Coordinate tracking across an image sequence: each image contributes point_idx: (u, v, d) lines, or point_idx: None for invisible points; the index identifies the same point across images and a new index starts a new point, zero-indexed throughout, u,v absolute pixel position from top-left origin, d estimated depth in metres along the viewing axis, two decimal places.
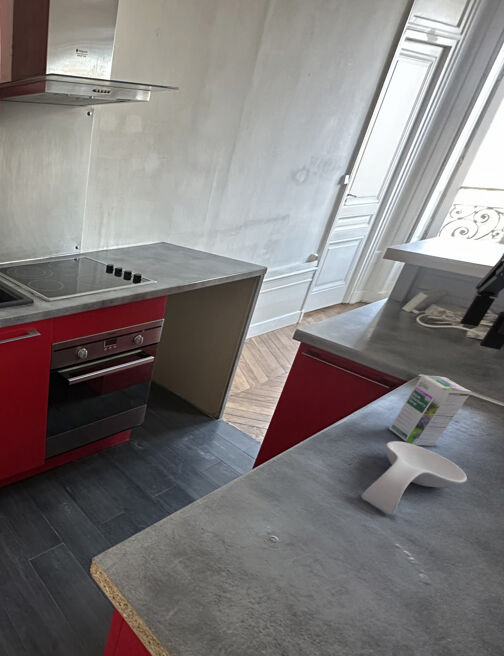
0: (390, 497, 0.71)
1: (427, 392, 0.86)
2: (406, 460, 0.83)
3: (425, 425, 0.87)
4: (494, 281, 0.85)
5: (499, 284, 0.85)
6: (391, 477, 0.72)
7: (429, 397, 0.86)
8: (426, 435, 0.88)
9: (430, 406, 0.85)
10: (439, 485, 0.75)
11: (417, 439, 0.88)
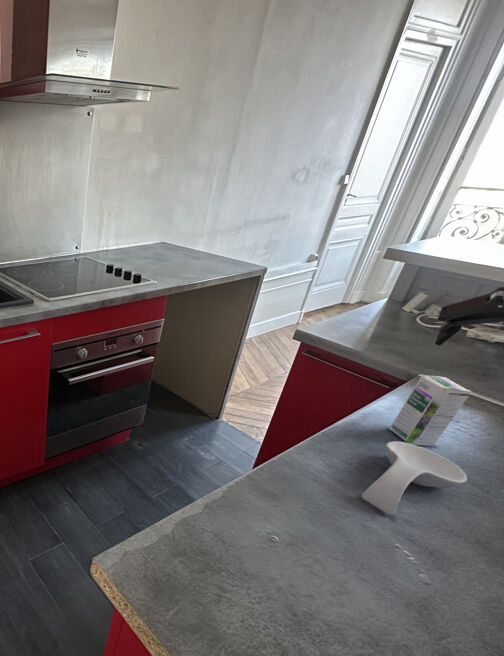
0: (390, 497, 0.71)
1: (427, 392, 0.86)
2: (406, 460, 0.83)
3: (425, 425, 0.87)
4: None
5: None
6: (391, 477, 0.72)
7: (429, 397, 0.86)
8: (426, 435, 0.88)
9: (430, 406, 0.85)
10: (439, 485, 0.75)
11: (417, 439, 0.88)
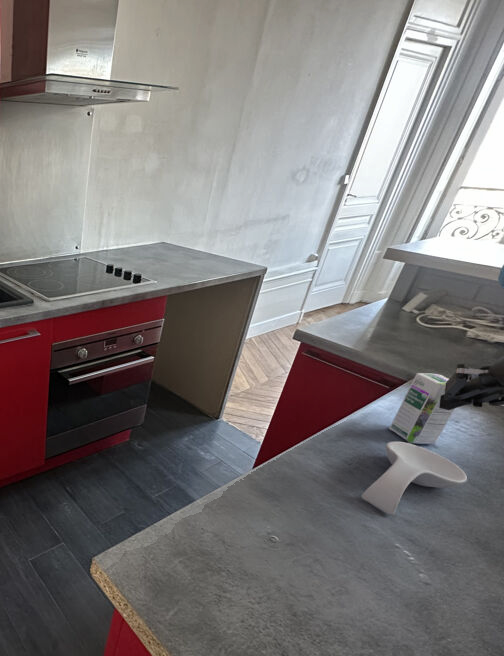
0: (390, 497, 0.71)
1: (424, 388, 0.87)
2: (406, 460, 0.83)
3: (424, 422, 0.87)
4: None
5: None
6: (391, 477, 0.72)
7: (425, 393, 0.86)
8: (426, 432, 0.88)
9: (427, 403, 0.86)
10: (439, 485, 0.75)
11: (418, 437, 0.88)
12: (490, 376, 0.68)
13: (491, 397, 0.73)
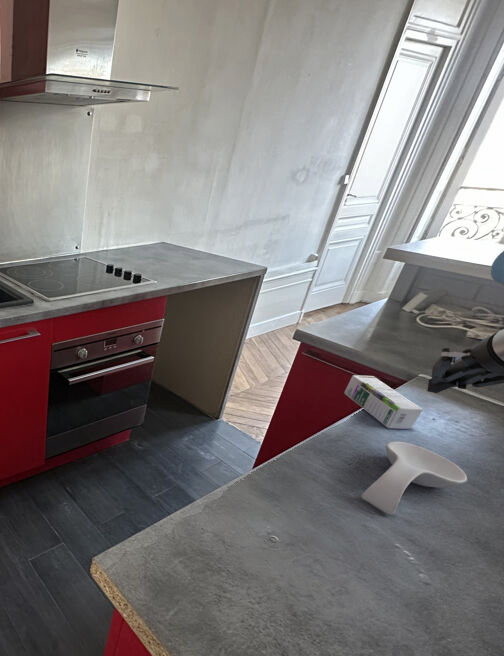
0: (390, 497, 0.71)
1: (354, 388, 1.04)
2: (406, 460, 0.83)
3: (382, 394, 0.97)
4: None
5: None
6: (391, 477, 0.72)
7: (357, 387, 1.03)
8: (397, 401, 0.94)
9: (364, 387, 1.01)
10: (439, 485, 0.75)
11: (397, 404, 0.93)
12: (472, 358, 0.74)
13: (474, 379, 0.79)
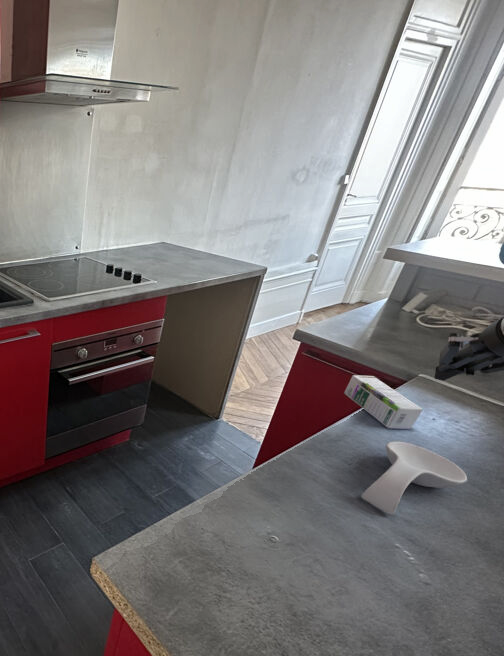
0: (390, 497, 0.71)
1: (354, 388, 1.04)
2: (406, 460, 0.83)
3: (382, 394, 0.97)
4: None
5: None
6: (391, 477, 0.72)
7: (357, 387, 1.03)
8: (397, 401, 0.94)
9: (364, 387, 1.01)
10: (439, 485, 0.75)
11: (397, 404, 0.93)
12: (480, 342, 0.73)
13: (482, 364, 0.78)
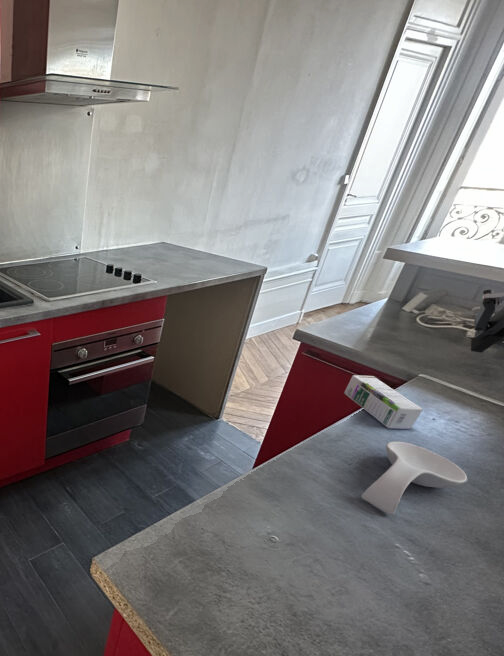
0: (390, 497, 0.71)
1: (354, 388, 1.04)
2: (406, 460, 0.83)
3: (382, 394, 0.97)
4: None
5: None
6: (391, 477, 0.72)
7: (357, 387, 1.03)
8: (397, 401, 0.94)
9: (364, 387, 1.01)
10: (439, 485, 0.75)
11: (397, 404, 0.93)
12: None
13: None
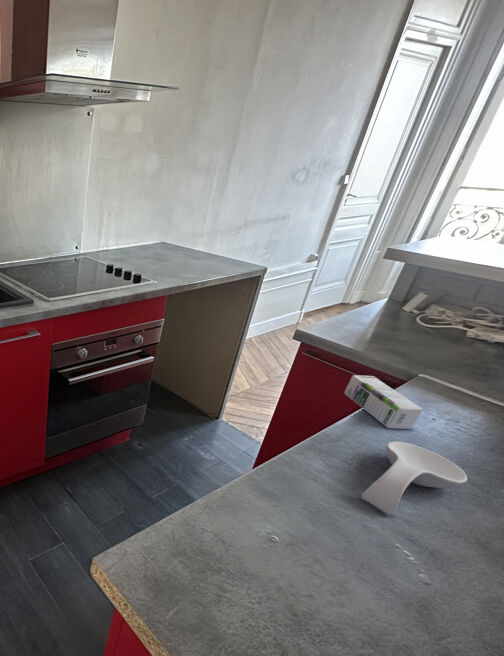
0: (390, 497, 0.71)
1: (354, 388, 1.04)
2: (406, 460, 0.83)
3: (382, 394, 0.97)
4: None
5: None
6: (391, 477, 0.72)
7: (357, 387, 1.03)
8: (397, 401, 0.94)
9: (364, 387, 1.01)
10: (439, 485, 0.75)
11: (397, 404, 0.93)
12: None
13: None
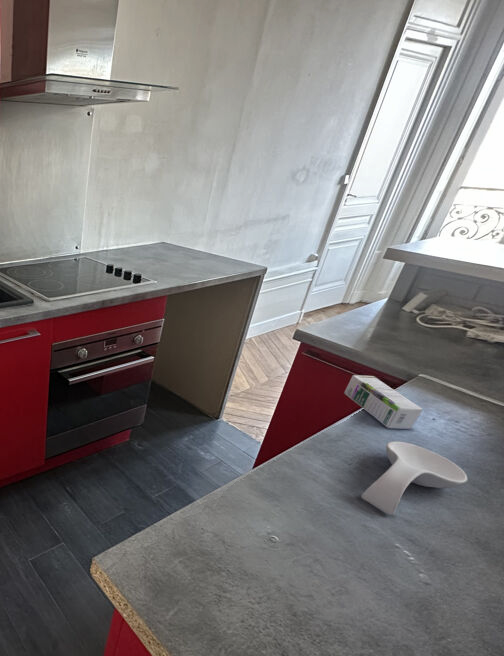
0: (390, 497, 0.71)
1: (354, 388, 1.04)
2: (406, 460, 0.83)
3: (382, 394, 0.97)
4: None
5: None
6: (391, 477, 0.72)
7: (357, 387, 1.03)
8: (397, 401, 0.94)
9: (364, 387, 1.01)
10: (439, 485, 0.75)
11: (397, 404, 0.93)
12: None
13: None
